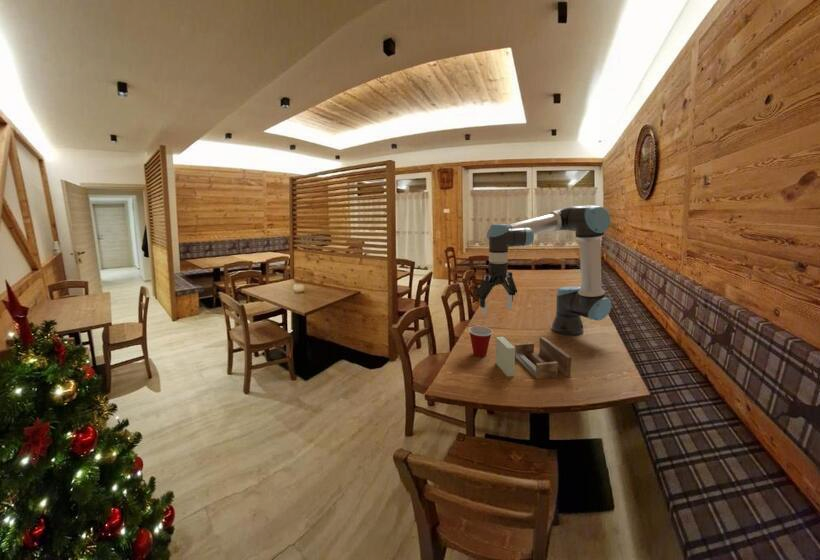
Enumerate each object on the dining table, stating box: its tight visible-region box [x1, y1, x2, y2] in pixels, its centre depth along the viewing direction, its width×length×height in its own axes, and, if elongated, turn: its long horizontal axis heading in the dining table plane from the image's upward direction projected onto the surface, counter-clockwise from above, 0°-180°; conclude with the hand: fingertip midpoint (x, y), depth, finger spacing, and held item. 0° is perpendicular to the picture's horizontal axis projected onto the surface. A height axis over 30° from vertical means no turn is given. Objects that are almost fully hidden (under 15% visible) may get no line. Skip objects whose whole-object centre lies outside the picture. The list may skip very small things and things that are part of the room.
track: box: [514, 336, 572, 380], centre depth 144 cm, size 13×22×8 cm, turn 7°
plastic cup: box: [468, 325, 494, 358], centre depth 157 cm, size 11×11×12 cm
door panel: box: [495, 336, 516, 377], centre depth 142 cm, size 3×12×12 cm, turn 7°
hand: (496, 312), depth 146 cm, fingers open, 13 cm apart
